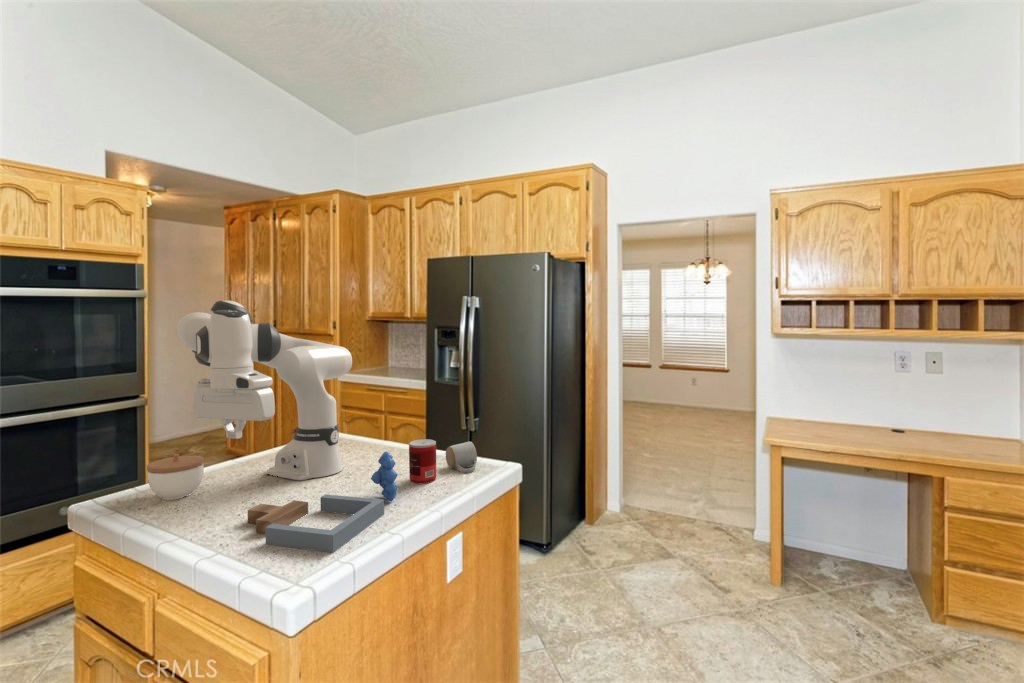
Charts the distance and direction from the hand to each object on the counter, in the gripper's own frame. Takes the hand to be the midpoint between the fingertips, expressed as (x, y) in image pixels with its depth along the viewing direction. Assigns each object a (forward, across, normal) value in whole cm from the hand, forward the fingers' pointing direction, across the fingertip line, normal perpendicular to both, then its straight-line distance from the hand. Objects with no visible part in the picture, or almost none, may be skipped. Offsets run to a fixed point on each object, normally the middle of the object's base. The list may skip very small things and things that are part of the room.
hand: (234, 438), depth 114 cm
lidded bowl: (+19, -28, +9) cm, 35 cm away
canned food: (+19, +31, +36) cm, 51 cm away
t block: (+19, +10, 0) cm, 21 cm away
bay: (+19, +25, 0) cm, 31 cm away
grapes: (+19, +28, +19) cm, 39 cm away
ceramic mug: (+19, +39, +49) cm, 66 cm away
